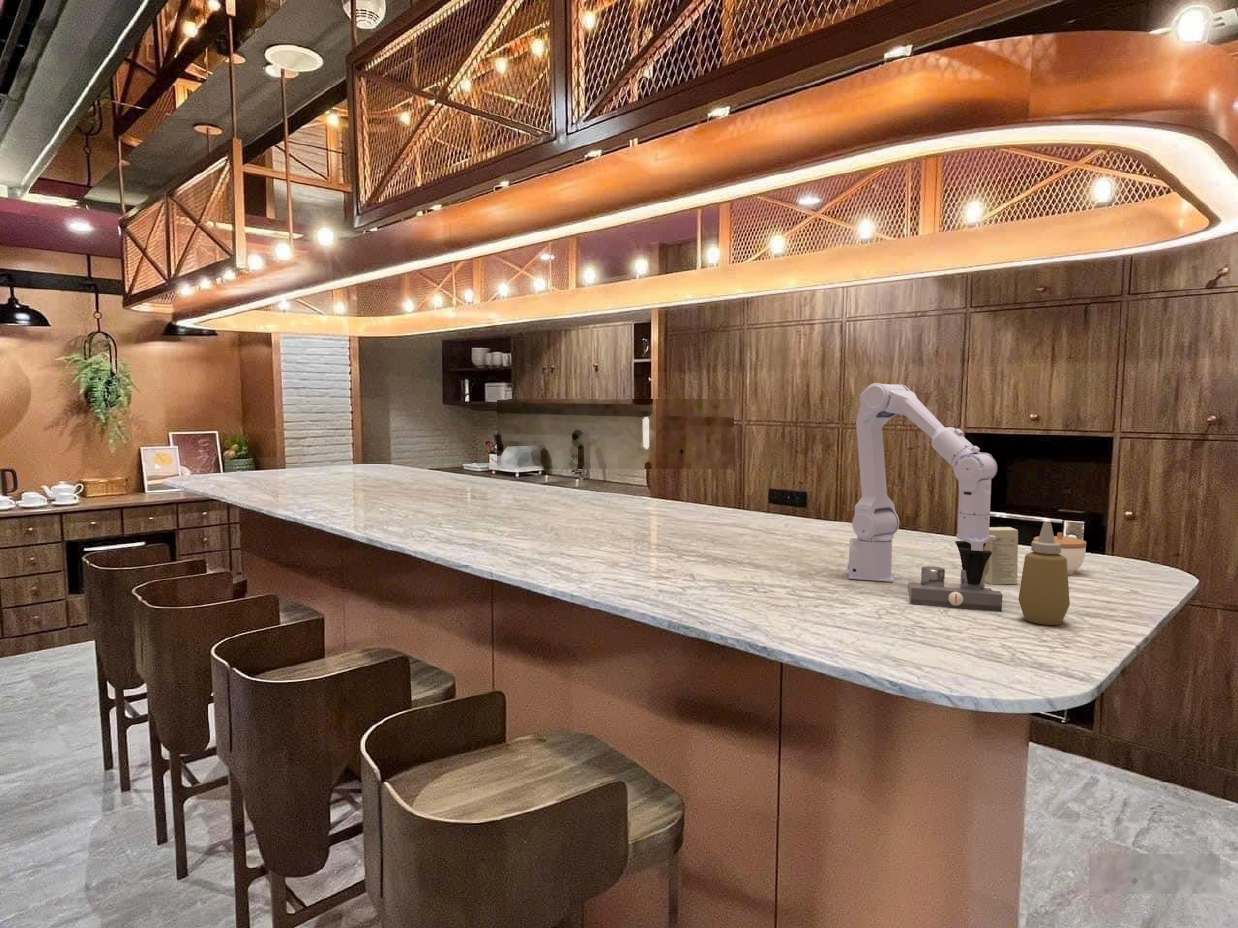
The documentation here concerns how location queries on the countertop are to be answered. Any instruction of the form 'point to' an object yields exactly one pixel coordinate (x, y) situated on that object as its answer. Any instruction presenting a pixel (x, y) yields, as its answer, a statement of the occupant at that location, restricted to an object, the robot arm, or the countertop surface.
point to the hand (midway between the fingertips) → (971, 579)
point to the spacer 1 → (932, 576)
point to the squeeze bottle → (1044, 581)
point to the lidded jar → (1071, 551)
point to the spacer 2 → (965, 584)
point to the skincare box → (1002, 556)
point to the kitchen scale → (955, 597)
